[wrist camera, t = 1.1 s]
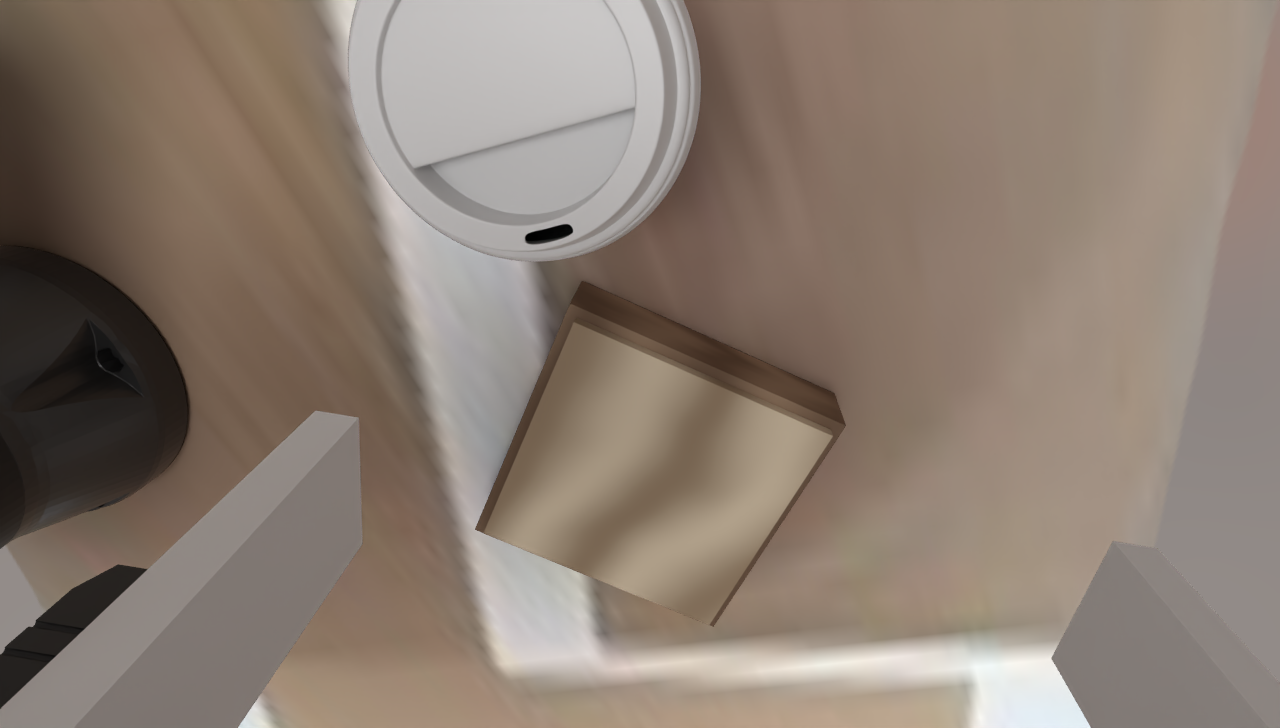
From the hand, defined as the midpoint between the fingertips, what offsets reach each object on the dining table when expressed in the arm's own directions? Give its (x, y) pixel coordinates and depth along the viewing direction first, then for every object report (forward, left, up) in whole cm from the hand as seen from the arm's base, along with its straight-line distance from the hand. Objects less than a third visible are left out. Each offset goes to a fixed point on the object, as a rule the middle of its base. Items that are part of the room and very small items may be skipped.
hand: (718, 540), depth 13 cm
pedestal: (+2, -12, -23) cm, 26 cm away
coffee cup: (-8, +4, -23) cm, 25 cm away
